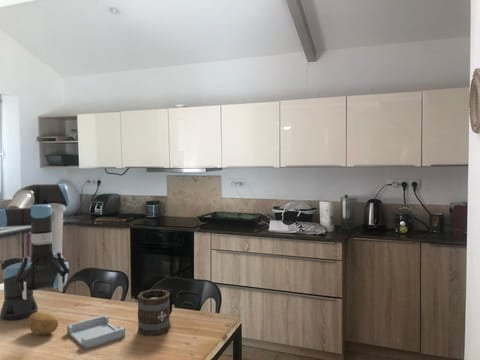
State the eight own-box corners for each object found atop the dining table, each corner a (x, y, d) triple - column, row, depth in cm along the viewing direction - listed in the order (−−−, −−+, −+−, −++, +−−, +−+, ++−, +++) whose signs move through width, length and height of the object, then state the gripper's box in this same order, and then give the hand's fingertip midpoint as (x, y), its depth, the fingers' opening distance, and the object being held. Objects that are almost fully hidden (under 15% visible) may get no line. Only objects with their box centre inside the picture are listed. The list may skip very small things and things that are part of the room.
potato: (44, 342, 153) (43, 321, 152) (21, 334, 159) (21, 315, 159) (65, 332, 161) (65, 313, 161) (43, 325, 168) (43, 307, 167)
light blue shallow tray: (67, 333, 160) (67, 325, 160) (105, 322, 171) (105, 314, 171) (85, 349, 146) (84, 340, 146) (125, 336, 157) (125, 328, 157)
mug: (158, 339, 155) (157, 301, 154) (130, 333, 160) (130, 297, 160) (184, 320, 173) (184, 287, 172) (158, 316, 178) (158, 283, 178)
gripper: (9, 248, 147) (10, 304, 148) (76, 240, 164) (77, 290, 165) (4, 245, 153) (5, 299, 154) (70, 237, 170) (71, 286, 170)
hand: (43, 294), depth 159 cm, fingers open, 13 cm apart
